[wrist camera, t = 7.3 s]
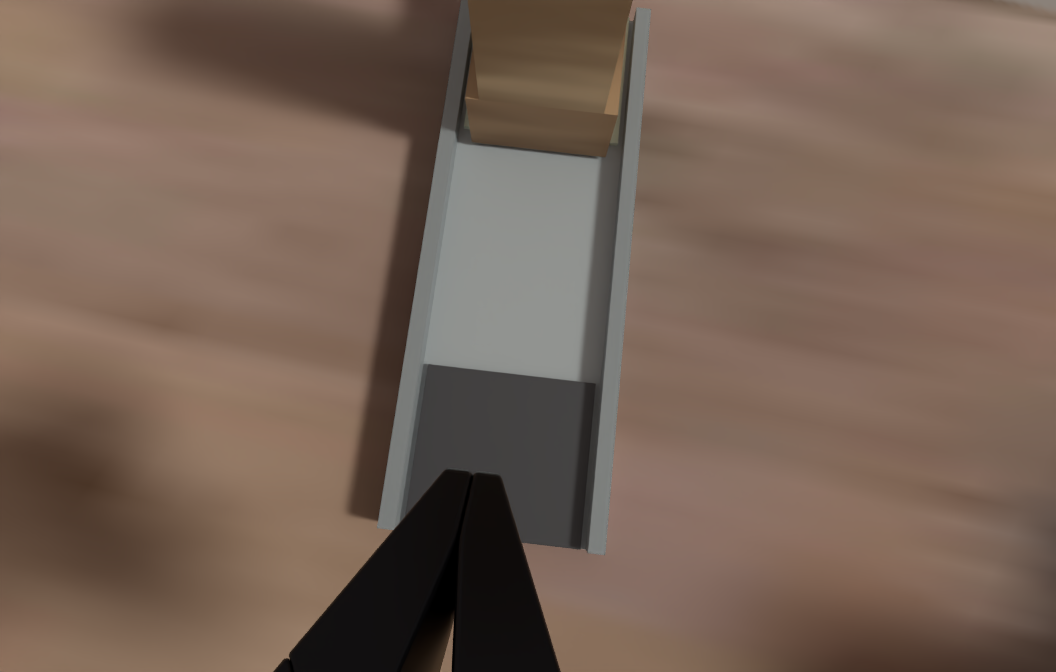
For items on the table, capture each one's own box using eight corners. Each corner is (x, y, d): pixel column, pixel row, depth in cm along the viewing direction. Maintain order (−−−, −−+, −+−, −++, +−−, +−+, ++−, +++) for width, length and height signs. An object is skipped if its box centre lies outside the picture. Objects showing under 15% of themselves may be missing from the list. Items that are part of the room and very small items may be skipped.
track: (599, 548, 21) (605, 554, 20) (386, 523, 21) (376, 528, 20) (644, 32, 26) (651, 9, 24) (465, 12, 26) (463, -12, 24)
